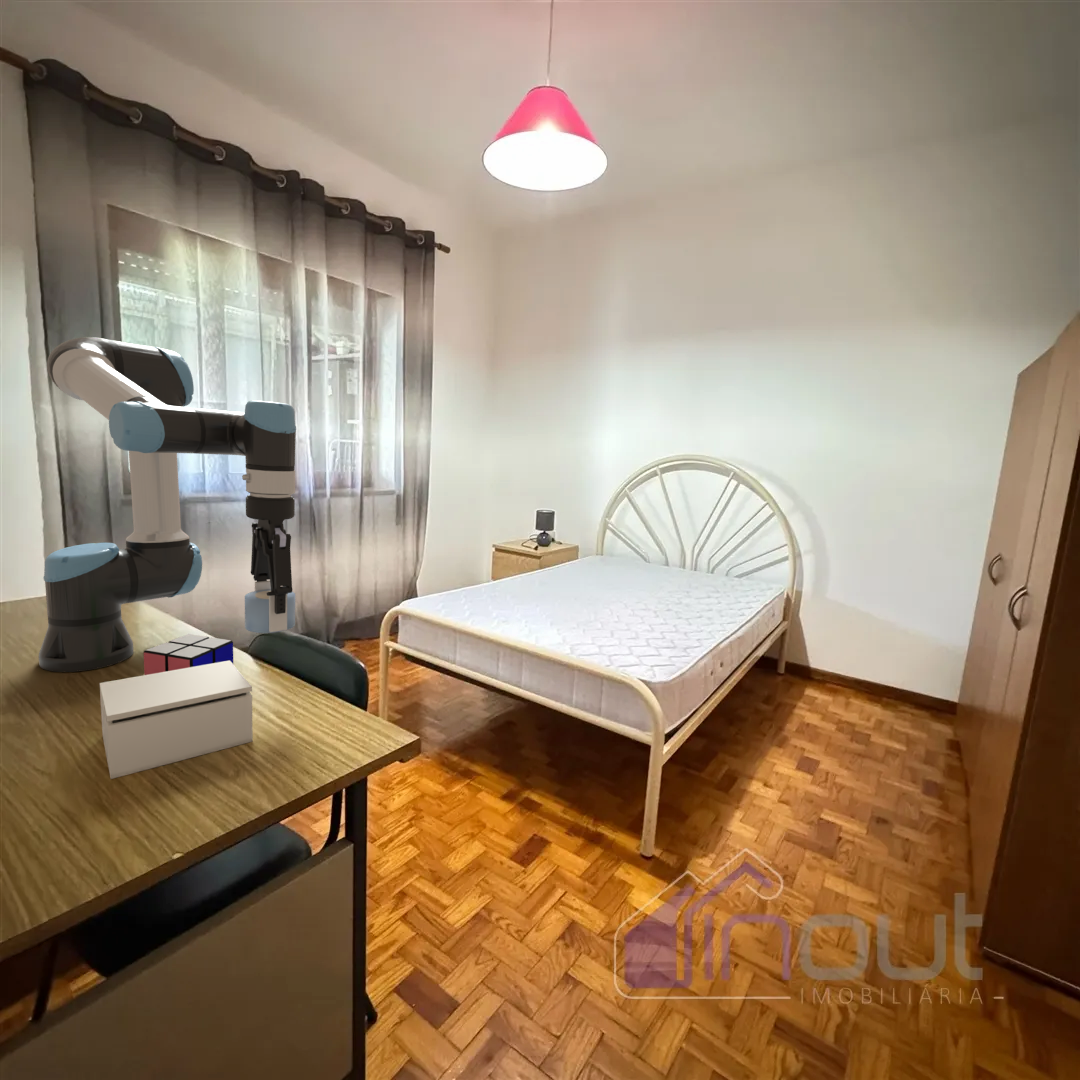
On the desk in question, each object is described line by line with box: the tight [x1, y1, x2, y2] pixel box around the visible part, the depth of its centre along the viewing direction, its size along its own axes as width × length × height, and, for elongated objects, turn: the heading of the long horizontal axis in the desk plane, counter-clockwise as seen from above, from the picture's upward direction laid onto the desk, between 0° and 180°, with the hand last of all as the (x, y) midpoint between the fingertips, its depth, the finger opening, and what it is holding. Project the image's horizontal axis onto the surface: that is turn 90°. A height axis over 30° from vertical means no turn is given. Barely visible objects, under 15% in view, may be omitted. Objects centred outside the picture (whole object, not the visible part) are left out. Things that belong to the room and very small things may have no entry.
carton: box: [99, 690, 254, 780], centre depth 88 cm, size 14×18×8 cm
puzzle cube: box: [143, 633, 234, 675], centre depth 102 cm, size 10×10×10 cm
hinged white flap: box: [99, 660, 253, 722], centre depth 87 cm, size 14×18×1 cm
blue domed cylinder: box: [244, 589, 296, 634], centre depth 98 cm, size 8×8×6 cm
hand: (270, 622), depth 99 cm, fingers closed on blue domed cylinder, 8 cm apart
